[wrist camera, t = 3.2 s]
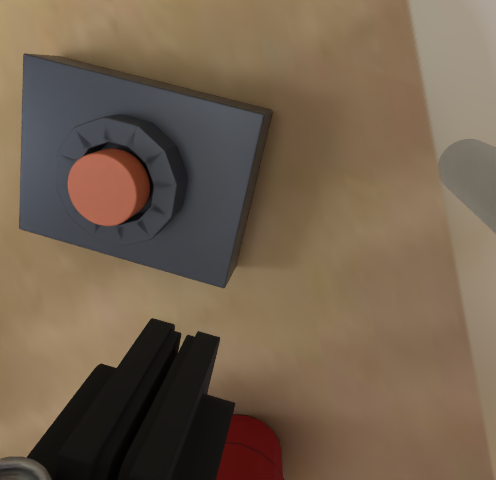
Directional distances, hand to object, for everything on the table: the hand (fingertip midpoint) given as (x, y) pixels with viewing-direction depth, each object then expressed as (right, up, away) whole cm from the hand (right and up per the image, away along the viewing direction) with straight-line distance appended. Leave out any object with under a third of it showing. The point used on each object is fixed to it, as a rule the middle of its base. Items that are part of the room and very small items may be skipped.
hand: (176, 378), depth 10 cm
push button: (-5, +6, +12) cm, 15 cm away
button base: (-4, +8, +16) cm, 19 cm away
